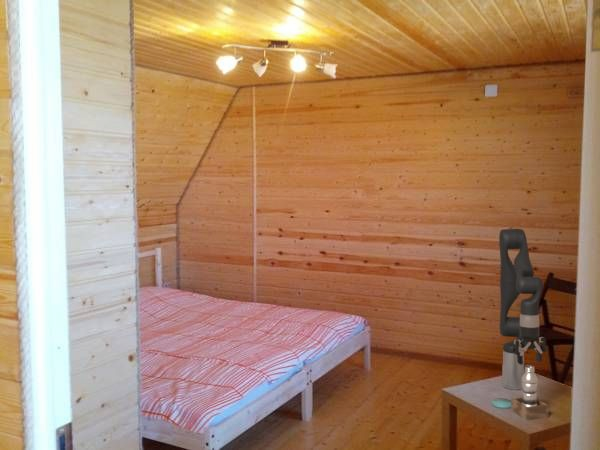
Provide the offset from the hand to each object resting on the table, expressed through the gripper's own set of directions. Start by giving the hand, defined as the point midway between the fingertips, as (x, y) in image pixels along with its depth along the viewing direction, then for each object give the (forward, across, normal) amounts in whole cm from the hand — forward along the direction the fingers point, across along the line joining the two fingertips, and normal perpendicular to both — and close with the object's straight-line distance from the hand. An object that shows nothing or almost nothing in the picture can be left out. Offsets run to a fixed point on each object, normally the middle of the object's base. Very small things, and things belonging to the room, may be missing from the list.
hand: (529, 363), depth 249 cm
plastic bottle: (+22, 0, 0) cm, 22 cm away
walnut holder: (+22, 0, 0) cm, 22 cm away
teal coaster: (+22, +5, -12) cm, 25 cm away
